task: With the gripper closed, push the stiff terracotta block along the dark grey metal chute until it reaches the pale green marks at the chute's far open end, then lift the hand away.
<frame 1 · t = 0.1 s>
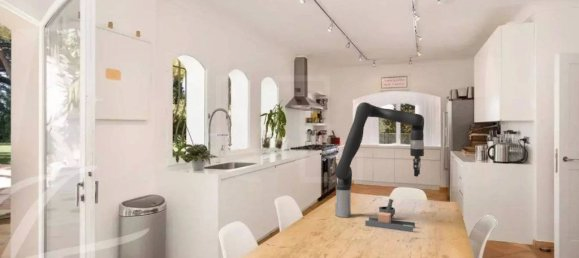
hand: (416, 175, 202), 29 cm above the table, tool pointing down, fingers open, 8 cm apart
terracotta block: (384, 219, 197), point 4 cm above the table, slide at 0.0 cm
chute: (389, 228, 196), on the table
mortar and pestle: (387, 219, 215), on the table
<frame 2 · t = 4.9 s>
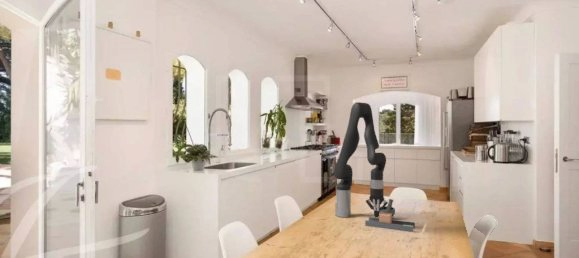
hand: (376, 216, 199), 6 cm above the table, tool pointing down, fingers closed
terracotta block: (385, 220, 197), point 4 cm above the table, slide at 0.6 cm, touching gripper
everything else where it was.
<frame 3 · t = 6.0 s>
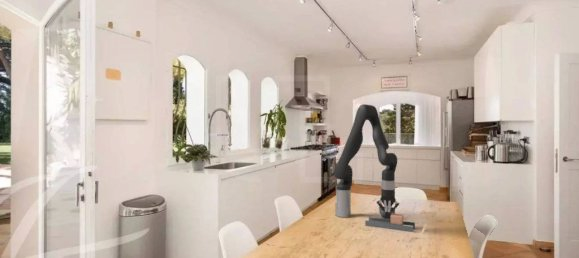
hand: (387, 218, 196), 6 cm above the table, tool pointing down, fingers closed
terracotta block: (396, 221, 194), point 4 cm above the table, slide at 6.9 cm, touching gripper
everything else where it was.
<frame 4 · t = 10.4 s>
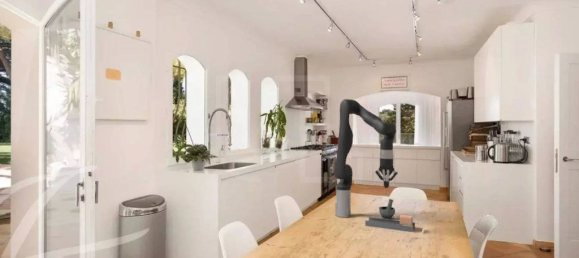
hand: (386, 187, 197), 23 cm above the table, tool pointing down, fingers closed
terracotta block: (406, 222, 192), point 4 cm above the table, slide at 11.9 cm
everything else where it was.
at the end: terracotta block slide at 11.9 cm; terracotta block inside the target area (0.9 cm from its centre), point 4.4 cm above the table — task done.
